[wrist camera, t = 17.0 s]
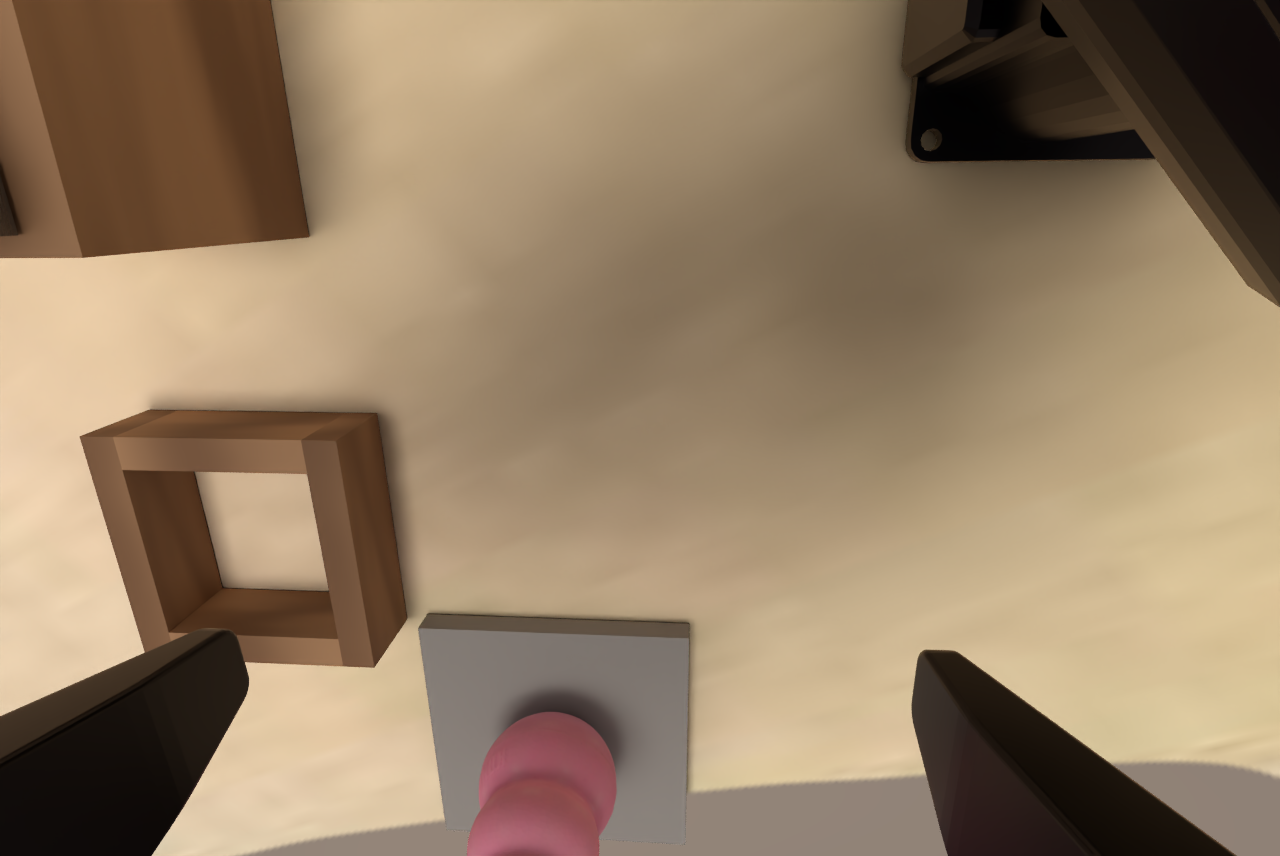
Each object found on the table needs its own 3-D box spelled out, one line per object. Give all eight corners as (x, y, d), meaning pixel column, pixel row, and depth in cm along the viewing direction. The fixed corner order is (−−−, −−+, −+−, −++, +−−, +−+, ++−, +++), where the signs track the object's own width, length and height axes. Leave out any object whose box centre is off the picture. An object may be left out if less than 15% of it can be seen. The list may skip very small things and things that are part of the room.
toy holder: (279, -262, 15) (-76, -661, 8) (406, 619, 23) (281, 803, 16) (-24, -243, 16) (-600, -603, 9) (201, 611, 23) (-8, 786, 16)
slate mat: (688, 623, 22) (689, 638, 21) (685, 825, 25) (685, 844, 24) (427, 614, 23) (418, 628, 22) (453, 811, 26) (446, 830, 25)
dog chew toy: (618, 691, 22) (587, 905, 15) (624, 792, 24) (598, 1029, 17) (489, 688, 22) (403, 896, 16) (503, 788, 24) (429, 1019, 17)
